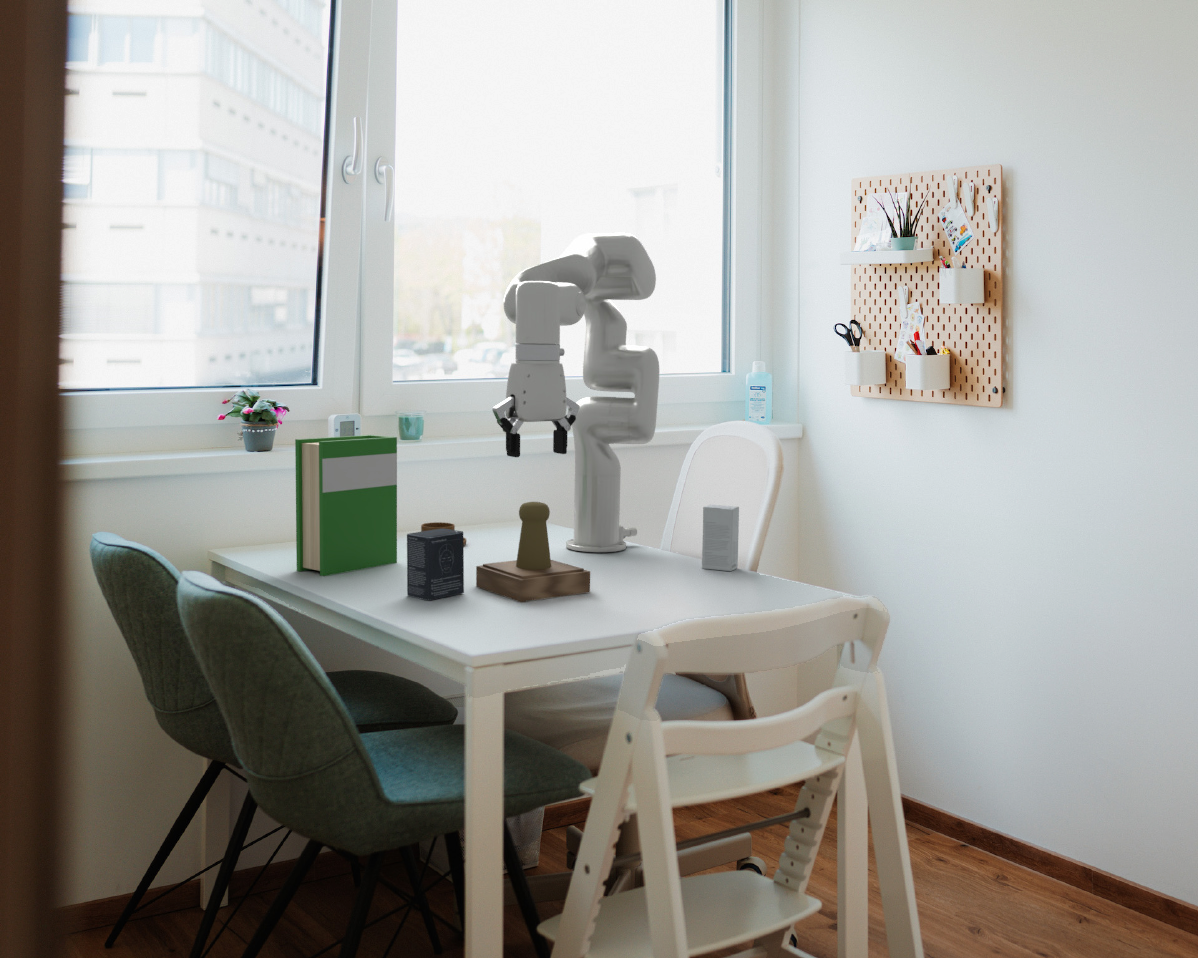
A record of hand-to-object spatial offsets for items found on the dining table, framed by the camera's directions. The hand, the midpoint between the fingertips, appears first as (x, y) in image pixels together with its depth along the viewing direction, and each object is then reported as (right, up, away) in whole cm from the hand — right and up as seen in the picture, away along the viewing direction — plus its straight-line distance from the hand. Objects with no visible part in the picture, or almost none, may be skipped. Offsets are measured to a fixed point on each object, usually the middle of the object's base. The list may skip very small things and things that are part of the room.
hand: (537, 454), depth 186 cm
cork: (0, -19, -2) cm, 19 cm away
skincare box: (+34, -22, +21) cm, 45 cm away
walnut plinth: (-1, -23, -1) cm, 23 cm away
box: (-16, -24, -7) cm, 30 cm away
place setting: (-27, -19, +42) cm, 53 cm away
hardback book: (-36, -21, +16) cm, 44 cm away
